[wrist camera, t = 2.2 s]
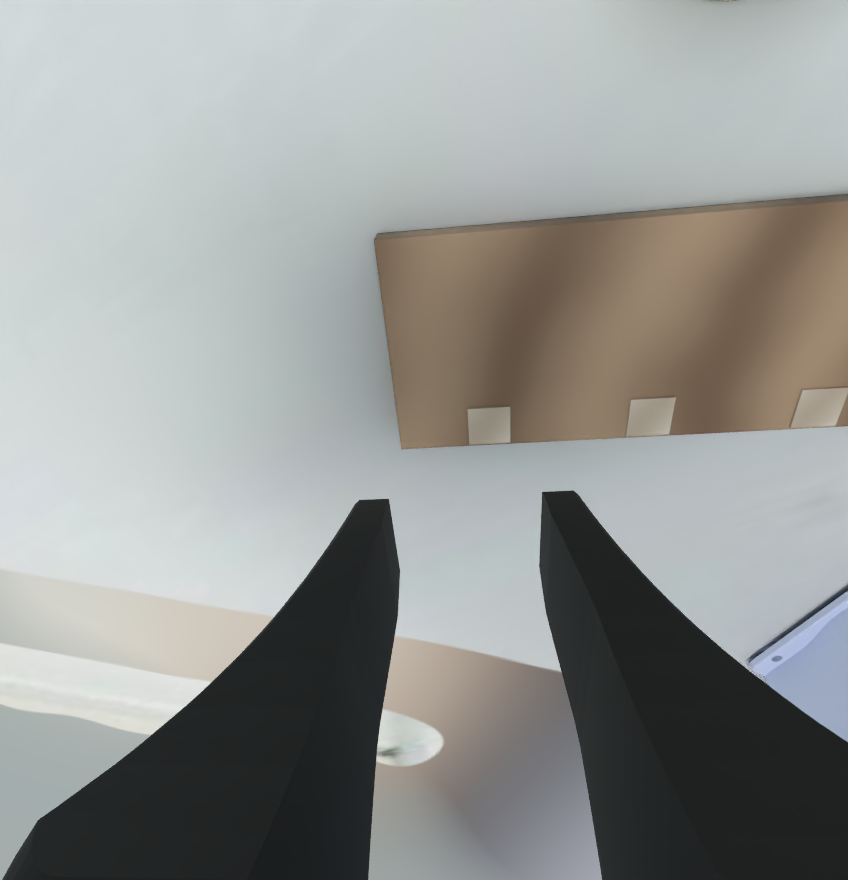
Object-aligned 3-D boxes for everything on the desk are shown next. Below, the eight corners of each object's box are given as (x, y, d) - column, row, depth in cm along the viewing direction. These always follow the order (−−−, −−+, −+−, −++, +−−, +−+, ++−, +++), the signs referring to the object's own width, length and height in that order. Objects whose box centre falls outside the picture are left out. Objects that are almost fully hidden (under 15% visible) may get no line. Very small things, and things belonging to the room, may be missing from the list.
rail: (1208, 163, 16) (1255, 167, 15) (1059, 400, 20) (1089, 415, 19) (377, 233, 18) (373, 241, 17) (403, 435, 22) (401, 450, 21)
